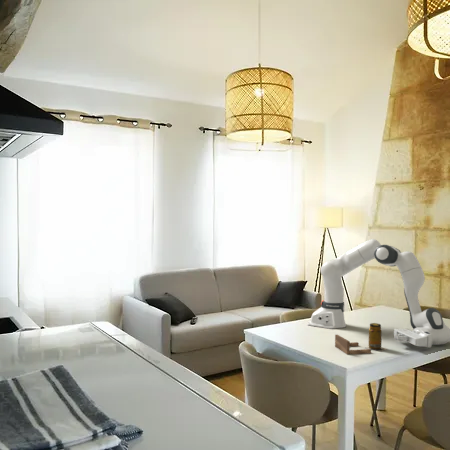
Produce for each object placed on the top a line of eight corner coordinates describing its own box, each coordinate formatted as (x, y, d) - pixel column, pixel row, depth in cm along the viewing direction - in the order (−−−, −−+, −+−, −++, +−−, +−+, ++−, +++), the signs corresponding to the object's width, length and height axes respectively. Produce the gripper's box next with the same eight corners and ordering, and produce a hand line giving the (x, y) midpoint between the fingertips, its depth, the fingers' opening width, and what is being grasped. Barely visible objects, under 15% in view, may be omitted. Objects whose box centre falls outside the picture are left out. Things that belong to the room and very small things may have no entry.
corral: (357, 345, 239) (357, 333, 239) (370, 353, 226) (371, 340, 226) (334, 346, 237) (335, 334, 236) (347, 354, 223) (347, 341, 223)
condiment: (371, 345, 239) (372, 321, 239) (387, 348, 234) (388, 324, 233) (364, 348, 234) (365, 324, 234) (381, 351, 228) (381, 327, 228)
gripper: (408, 325, 249) (384, 326, 246) (433, 335, 229) (407, 336, 226) (408, 337, 249) (384, 338, 246) (433, 348, 229) (407, 349, 226)
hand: (395, 337), depth 236 cm, fingers closed
